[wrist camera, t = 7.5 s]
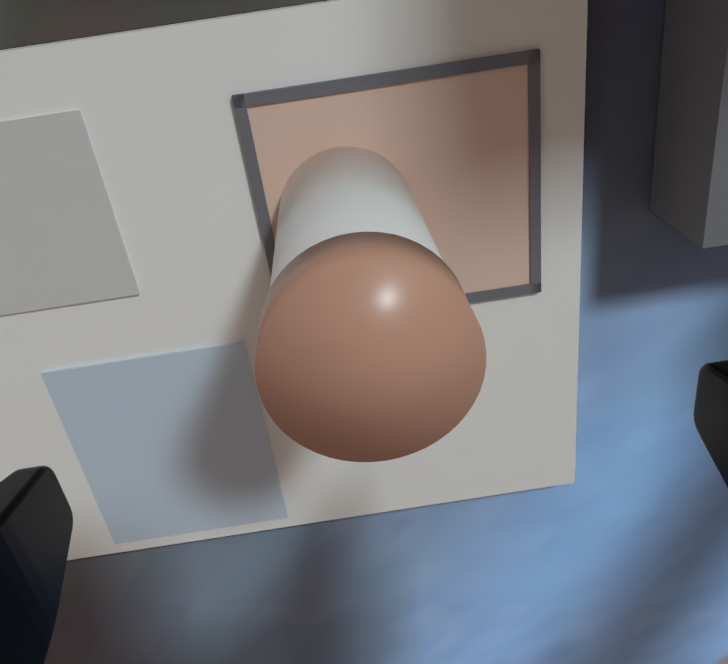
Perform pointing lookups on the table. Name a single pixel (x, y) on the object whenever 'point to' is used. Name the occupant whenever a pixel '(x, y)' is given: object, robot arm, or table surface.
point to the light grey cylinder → (363, 316)
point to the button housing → (693, 122)
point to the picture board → (256, 251)
